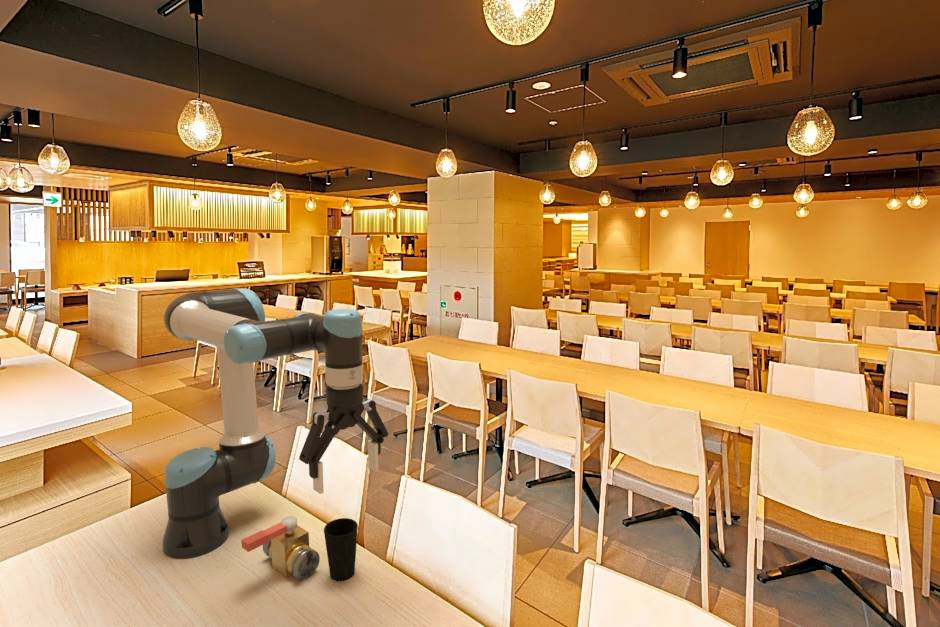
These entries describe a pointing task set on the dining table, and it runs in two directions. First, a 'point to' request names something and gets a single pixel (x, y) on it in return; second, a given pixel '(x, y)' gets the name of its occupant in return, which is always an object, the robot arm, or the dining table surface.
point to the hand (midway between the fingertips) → (347, 480)
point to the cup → (341, 548)
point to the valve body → (293, 554)
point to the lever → (269, 533)
